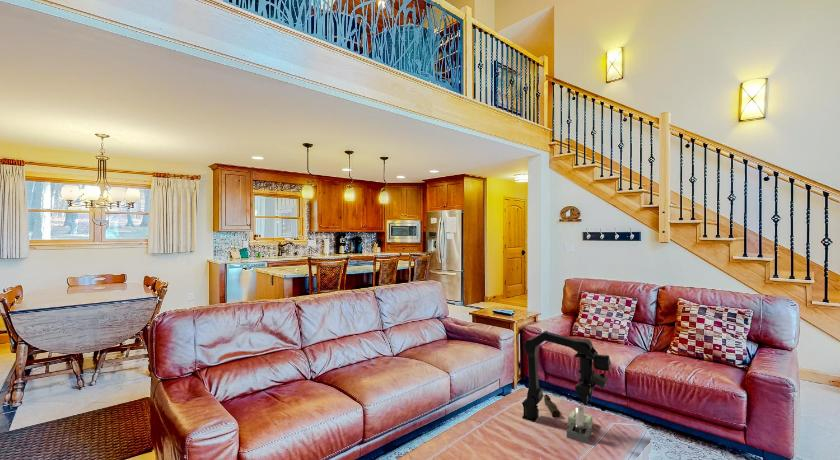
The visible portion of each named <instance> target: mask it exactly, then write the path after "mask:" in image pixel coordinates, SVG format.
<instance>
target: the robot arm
mask: <svg viewBox="0 0 840 460" xmlns="http://www.w3.org/2000/svg"><path fill="white" fill-rule="evenodd" d="M544 342H549V343H552V344H557V345H560V346H563V347H567V348H570V349H572V350H573V351H575V352H576V353H575V355H573V357H574V358H578V364H579V365H578V367H579V369H578V371H577V372H578V373H579V378H578V383H576V385H575V386H574V391H575V392H576V393H577V395H578V396H579V398H580V400H581V402H582V404H583V406H588V400H589V399H592V396H593V391H594V388H595V386H596V385H597V386H598V387H600V388H601V389H604V388H605V386H606V384H607V382H608V377H606V373H604V372H611V370H612V361H611V359H610V355H609V354H599V353H598V351H597V350H596V349H595V347H594V345H593V343H592V341H591V340H590V339H587V338H580V337H579V338H577V337H576V338H571V337H569V336H565V335H560V334H558V333H553V332H550V331H548V330H544V331H543V332H541V333H540V334H538V335H537V336H535V337H529V338H528V339H527V340H525V341H524V343H523V346H524V351H525V354H526V356H527V364H528V366H527V367H528V388H527V394H526V398H525V399H524V400H523V402H521V403H522V404H521V405H522V407H523V410H522V411H523V414H522V416H521V418H522V419H525V420H527V421H532V422H536V421H537V420H538V419H539V417H540V416H539V415H540V414H539V413H540V411H539V410H540V409H539V408H538V407H539V405H538V404H539V403H540V402H541V401H542V400H543V398H544V395H545V394H544V388H542V387H540V385H539V370H538V369H539V367H538V365H539V364H538V355H539V351H540V345H541V344H542V343H544ZM595 369H596V370H598V371H604V372H601V373H600V374H599V373H596V370H595Z"/></svg>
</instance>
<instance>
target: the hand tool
mask: <svg viewBox="0 0 840 460" xmlns="http://www.w3.org/2000/svg"><path fill="white" fill-rule="evenodd" d="M543 395H544V396H543V398H544V400H543V401H544V404H545V406H546V407H547V409H548V410H549V412H550V414H551V417H552V418H554V417H558V418H560V416H561V412H560V410H558V408H557V407H556V405H555V404H554V403H553V402H552V400H551V397H550V396H549V395H548V394H543Z"/></svg>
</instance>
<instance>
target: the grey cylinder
mask: <svg viewBox="0 0 840 460" xmlns="http://www.w3.org/2000/svg"><path fill="white" fill-rule="evenodd" d="M574 411H575V432H579V433H582V434H584V414H585V408H584V407H583V406H579V405H576V406H575V409H574Z"/></svg>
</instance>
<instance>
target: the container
mask: <svg viewBox="0 0 840 460" xmlns="http://www.w3.org/2000/svg"><path fill="white" fill-rule="evenodd" d="M571 423H574V424H575V410H572V411H571V412H570V414H569V416H568V419H567V423H566V427H568V426H570V424H571ZM593 425H594V421H593V415H592V414H587V413H584V426H585V427H588V428H593Z"/></svg>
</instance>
